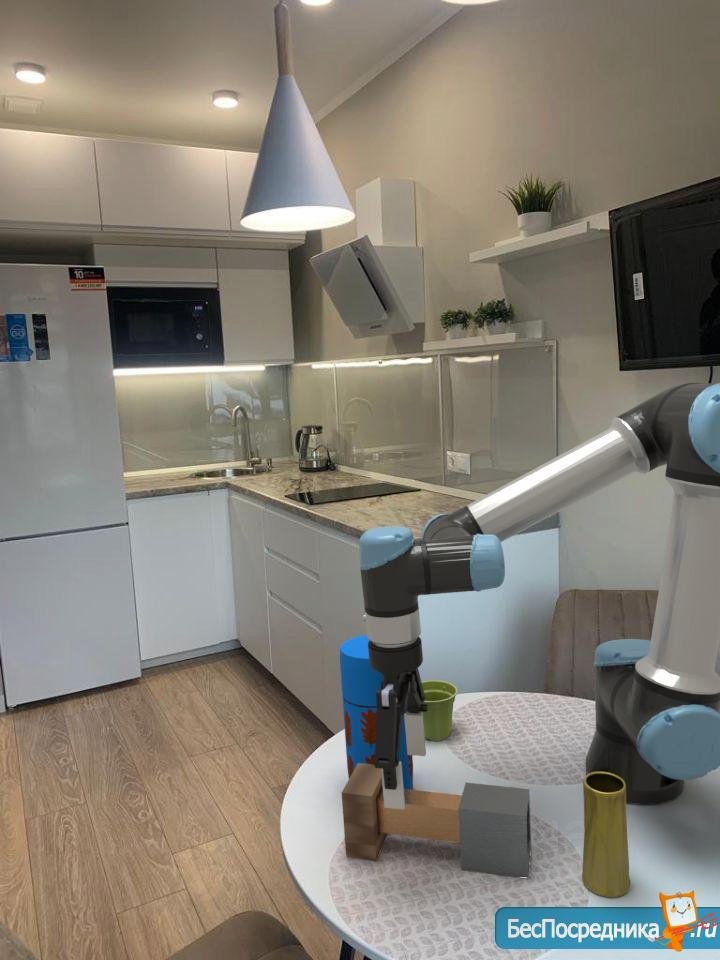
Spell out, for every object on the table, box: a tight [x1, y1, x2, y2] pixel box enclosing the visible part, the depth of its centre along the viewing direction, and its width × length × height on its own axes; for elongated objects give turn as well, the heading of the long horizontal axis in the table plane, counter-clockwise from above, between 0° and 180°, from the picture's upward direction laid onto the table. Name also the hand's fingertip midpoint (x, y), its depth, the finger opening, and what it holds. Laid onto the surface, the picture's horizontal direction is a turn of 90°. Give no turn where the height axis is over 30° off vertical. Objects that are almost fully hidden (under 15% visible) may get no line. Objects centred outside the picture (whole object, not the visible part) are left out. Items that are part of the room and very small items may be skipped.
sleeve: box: [458, 782, 532, 878], centre depth 101 cm, size 9×6×9 cm
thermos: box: [339, 634, 414, 790], centre depth 119 cm, size 11×11×25 cm
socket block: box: [341, 763, 388, 862], centre depth 107 cm, size 4×8×10 cm, turn 163°
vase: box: [581, 771, 632, 898], centre depth 95 cm, size 6×6×14 cm
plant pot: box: [420, 680, 459, 742], centre depth 137 cm, size 9×9×9 cm
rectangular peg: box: [376, 786, 462, 844], centre depth 104 cm, size 18×4×5 cm, turn 73°
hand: (406, 779), depth 104 cm, fingers open, 13 cm apart
